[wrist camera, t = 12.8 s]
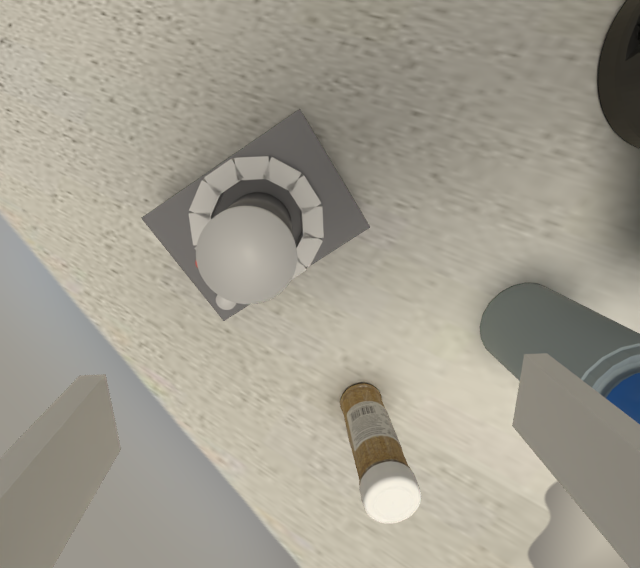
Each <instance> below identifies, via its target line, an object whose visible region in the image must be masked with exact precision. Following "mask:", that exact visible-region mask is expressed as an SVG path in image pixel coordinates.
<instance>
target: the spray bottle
mask: <svg viewBox="0 0 640 568" xmlns="http://www.w3.org/2000/svg"><path fill="white" fill-rule="evenodd" d="M480 333H481V340H482V342H483V344H484V346H485V348H486V349H487V350H488V351H489V352H490V353H491V354H492V355H493V356H494V357H495V358H496V359H497V360H498V361H499V362H500V363H501V364H502V365H504V366H505V367H506V368H507V369H508V370H509V371H510V372H511V373H512V374H513V375H514V376H515V377H516V378H517V379H518V380H519V381H520V376H521V370H522V364H523V358H524V354H541V353H547V354H549V355H550V356H551V357H552V358H554V359H555V360H556V361H558V362H559V363H560V364H562V365H563V366H564V367H565V368H567V369H568V370H569V371H571V372H572V373H573V374H575V375H576V376H577V377H579V378H580V379H581V380H582V381H584V382H585V383H586V384H588V385H589V386H590V387H592V388H593V389H594V390H596V391H597V392H598V393H599V394H601V395H602V396H603V397H605V398H606V399H607V400H609V401H610V402H611V403H612V404H614V405H615V406H616V407H618V408H619V409H620V410H622V411H623V412H624V413H626V414H627V415H628V416H629V417H631V418H632V419H633V420H635V421H636V422H637V423H639V424H640V334H639V333H637V332H635V331H633V330H631V329H629V328H627V327H625V326H623V325H621V324H619V323H617V322H615V321H613V320H611V319H609V318H607V317H605V316H603V315H601V314H599V313H597V312H595V311H593V310H591V309H589V308H587V307H585V306H583V305H581V304H579V303H577V302H575V301H573V300H571V299H569V298H567V297H565V296H563V295H561V294H559V293H557V292H555V291H553V290H551V289H549V288H546V287H544V286H542V285H540V284H533V283H523V284H519V285H515V286H511V287H510V288H508V289H506V290H504V291H502V292H501V293H499V294H498V295H497V296H496V297H495V298H494V299H493V300H492V301H491V302H490V303H489V305H488V307H487V308H486V310H485V312H484V313H483V316H482V320H481V324H480Z"/></svg>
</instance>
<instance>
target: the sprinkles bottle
mask: <svg viewBox="0 0 640 568" xmlns="http://www.w3.org/2000/svg"><path fill="white" fill-rule="evenodd" d="M340 404H341V409H342V411H343V414H344V417H345V422H346V429H347V434H348V438H349V442H350V446H351V448H352V452H353V456H354V460H355V464H356V468H357V472H358V476H359V480H360V482H359V485H360V494H361V499H362V502H363V506H364V509H365V511H366V513H367V514H368V515H369V516H370V517H371V518H372V519H374V520H375V521H378V522H381V523H397V522H400V521H403V520H405V519H407V518H408V517H410V516H411V515H412V514H413V513H414V512H415V511H416V510H417V508H418V507H419V504H420V502H421V491H420V488H419V485H418V483H417V480H416V478H415V475H414V473H413V472H412V470H411V469H410V467H409V466H408V464H407V462H406V459H405V457H404V455H403V452H402V448H401V445H400V443H399V440H398V438H397V435H396V433H395V430H394V428H393V425H392V423H391V420H390V418H389V415H388V413H387V411H386V409H385V407H384V405H383V402H382V398H381V394H380V392H379V391H378V390H377V388H375V387H374V386H371V385H369V384H356V385H353V386H351V387H350V388H348V389H347V390H346V391H345V392H344V394H343V395H342V398H341V401H340Z"/></svg>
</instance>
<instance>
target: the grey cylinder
mask: <svg viewBox="0 0 640 568" xmlns="http://www.w3.org/2000/svg"><path fill="white" fill-rule="evenodd" d="M196 261H197V266H198V269H199V272H200V274H201V276H202V278H203V280H204V281H205V283H206V284H207V285H208V286H209V288H210V289H211V290H213V291H214V292H215V293H216V294H218V295H219V296H220V297H222V298H224V299H226V300H229V301H231V302H235V303H239V304H258V303H262V302H265V301H268V300H270V299H272V298H274V297H276V296H277V295H278V294H280V293H281V292H282V291H283V290H284V289H285V288H286V287H287V286H288V284H289V283H290V281H291V280H292V278H293V275H294V273H295V270H296V265H297V249H296V244H295V240H294V238H293V230H292V220H291V216H290V214H289V211H288V210H287V208H286V206H285V205H284V204H283V203H282V202H281V201H280V200H279V199H277V198H276V197H274V196H272V195H270V194H267V193H262V192H253V193H248V194H246V195H243V196H241V197H240V198H238V199H237V200H236V201H235V202H234V203H232V204H231V205H230V206H229V207H228V208H227V209H226V210H224V211H222V212H221V213H219V214H218V215H216V216H215V217H214V218H212V219H211V220H210V221H209V222H208V223H207V225H206V226H205V227H204V228H203V230H202V232H201V234H200V236H199V239H198V242H197V246H196Z"/></svg>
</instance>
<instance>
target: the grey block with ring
mask: <svg viewBox="0 0 640 568" xmlns="http://www.w3.org/2000/svg"><path fill="white" fill-rule="evenodd" d="M253 192H262V193H267V194H270V195H272V196H274V197H276V198H277V199H279V200H280V201H281V202H282V203H283V204H284V205H285V206H286V208H287V210H288V211H289V214H290V216H291V220H292V230H293V238H294V240H295V244H296V249H297V265H296V270H295V273H294V275H293V278H295V277H297V276H298V275H300V274H301V273H303V272H304V271H306V270H307V267H310V265H312V264H314V263H315V262H317V261H318V260H320V259H321V258H323V257H324V256H326V255H328V254H329V253H331V252H332V251H334V250H335V249H337V248H338V247H340V246H342V245H343V244H345V243H346V242H348V241H349V240H351V239H353V238H354V237H356V236H357V235H359V234H360V233H362V232H363V231H365V230H367V229H368V228H370V226H369V224H368V222H367V221H366V219H365V217H364V216H363V214H362V212H361V211H360V209H359V207H358V206H357V204H356V202H355V201H354V199H353V197H352V195H351V194H350V192H349V190H348V189H347V187H346V185H345V184H344V182H343V180H342V179H341V177H340V175H339V174H338V172H337V170H336V169H335V167H334V165H333V164H332V162H331V160H330V159H329V157H328V155H327V154H326V152H325V150H324V148H323V147H322V145H321V143H320V142H319V140H318V138H317V137H316V135H315V133H314V132H313V130H312V128H311V127H310V125H309V123H308V122H307V120H306V118H305V117H304V115H303V113H302V112H301V110H300V109H299V110H297V111H296V112H294V113H293V114H291V115H290V116H289V117H287V118H286V119H284V120H283V121H281V122H280V123H278V124H277V125H275V126H274V127H273V128H271V129H270V130H268V131H267V132H265V133H264V134H262V135H261V136H259V137H258V138H257V139H255V140H254V141H252V142H251V143H249V144H248V145H246V146H245V147H244V148H242V149H241V150H239V151H238V152H236V153H235V154H233V155H232V156H230V157H229V158H228V159H226V160H225V161H223V162H222V163H220V164H219V165H217V166H216V167H215V168H213V169H212V170H210V171H209V172H207V173H206V174H204V175H203V176H201V177H200V178H199V179H197V180H196V181H194V182H193V183H191V184H190V185H188V186H187V187H185V188H184V189H183V190H181V191H180V192H178V193H177V194H175V195H174V196H172V197H171V198H170V199H168V200H167V201H165V202H164V203H162V204H161V205H159V206H158V207H156V208H155V209H154V210H152V211H151V212H149V213H148V214H146V215H145V216H143V217H142V220H143V221H144V222H145V223H146V225H147V226H148V227H149V228H150V230H151V231H152V232H153V233H154V235H155V236H156V237H157V238H158V240H159V241H160V242H161V243H162V245H163V246H164V247H165V248H166V250H167V251H168V252H169V253H170V255H171V256H172V257H173V258H174V260H175V261H176V262H177V263H178V265H179V266H180V267H181V268H182V270H183V271H184V272H185V273H186V275H187V276H188V277H189V278H190V280H191V281H192V282H193V283H194V285H195V286H196V287H197V288H198V289H199V291H200V292H201V293H202V294H203V296H204V297H205V298H206V299H207V301H208V302H209V303H210V304H211V306H212V307H213V308H214V309H215V311H216V312H217V313H218V314H219V316H220V317H221V318H222V319H223V321H225V320H226V319H228V318H229V317H231V316H232V315H234V314H236V313H237V312H239V311H240V310H242V309H243V308H245V307H246V306H248V305H250V304H239V303H235V302H231V301H229V300H226V299H224V298H222V297H220V296H219V295H218V294H216V293H215V292H214V291H213V290H211V289H210V288H209V286H208V285H207V284H206V283H205V281H204V280H203V278H202V276H201V274H200V272H199V269H198V266H197V261H196V246H197V242H198V239H199V236H200V234H201V232H202V230H203V228H204V227H205V226H206V225H207V223H208V222H209V221H210V220H211V219H212V218H214V217H215V216H216V215H218V214H219V213H221V212H222V211H224V210H226V209H227V208H228V207H229V206H230V205H231V204H232V203H234V202H235V201H236V200H237V199H238V198H240V197H241V196H243V195H246V194H248V193H253ZM293 278H292V279H293Z"/></svg>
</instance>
